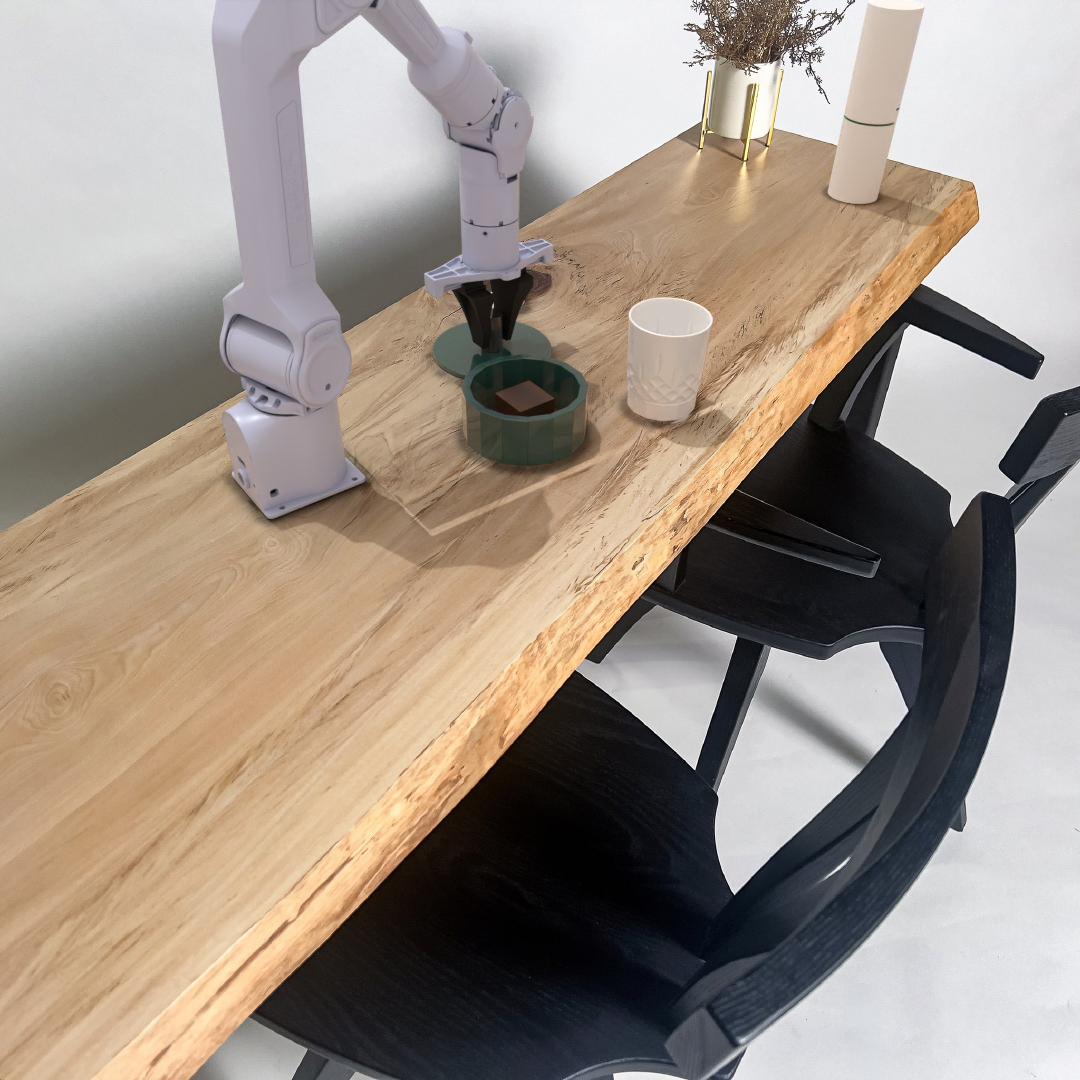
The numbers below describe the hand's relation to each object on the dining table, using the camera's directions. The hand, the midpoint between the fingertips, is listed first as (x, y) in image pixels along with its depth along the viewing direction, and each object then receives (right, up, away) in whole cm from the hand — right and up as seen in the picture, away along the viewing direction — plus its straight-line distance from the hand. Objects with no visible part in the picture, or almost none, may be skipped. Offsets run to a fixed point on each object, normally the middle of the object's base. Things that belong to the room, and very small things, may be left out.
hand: (491, 340), depth 103 cm
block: (+4, -11, -10) cm, 15 cm away
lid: (0, -1, +1) cm, 1 cm away
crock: (+4, -11, -10) cm, 15 cm away
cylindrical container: (+51, +29, +39) cm, 70 cm away
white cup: (+17, -8, -6) cm, 20 cm away
